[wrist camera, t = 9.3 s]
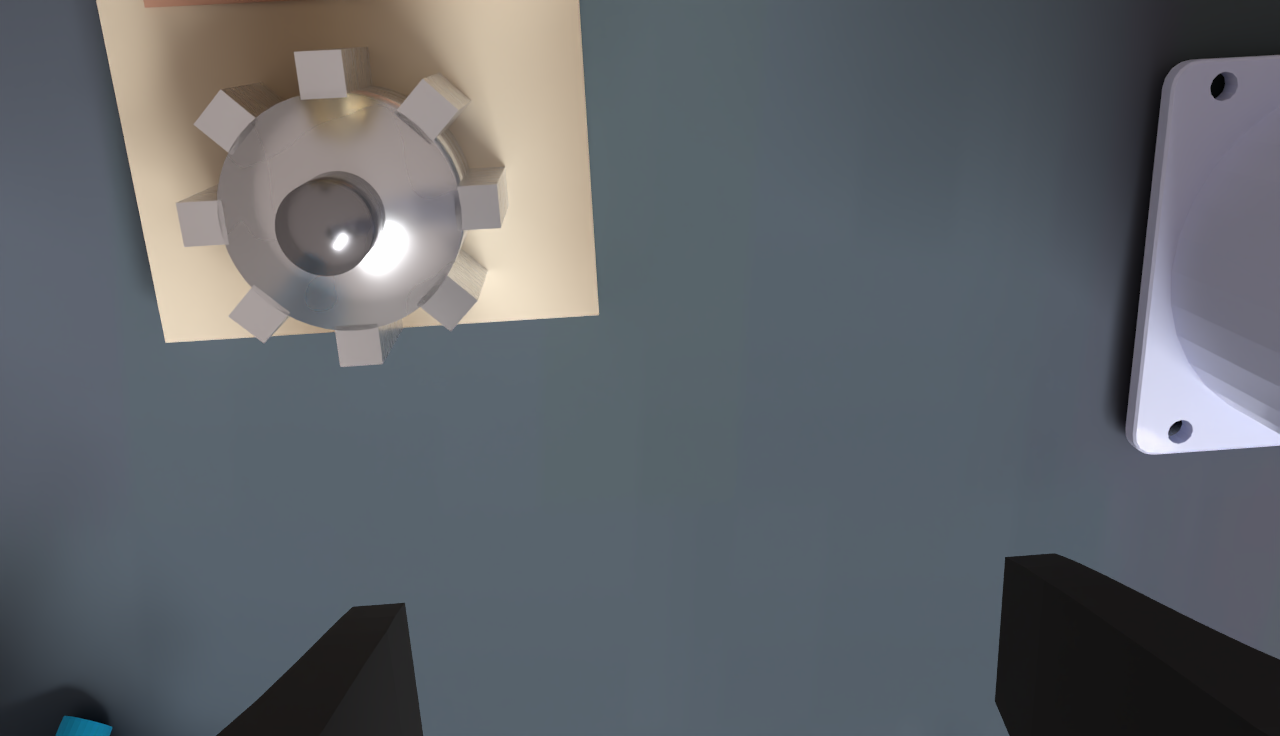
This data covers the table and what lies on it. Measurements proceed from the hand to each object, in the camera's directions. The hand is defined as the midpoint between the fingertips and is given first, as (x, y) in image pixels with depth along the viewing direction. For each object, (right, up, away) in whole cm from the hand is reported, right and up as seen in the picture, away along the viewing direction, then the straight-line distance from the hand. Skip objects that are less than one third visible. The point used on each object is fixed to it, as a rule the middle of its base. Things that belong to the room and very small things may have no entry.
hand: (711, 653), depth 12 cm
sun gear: (-6, +7, +6) cm, 11 cm away
